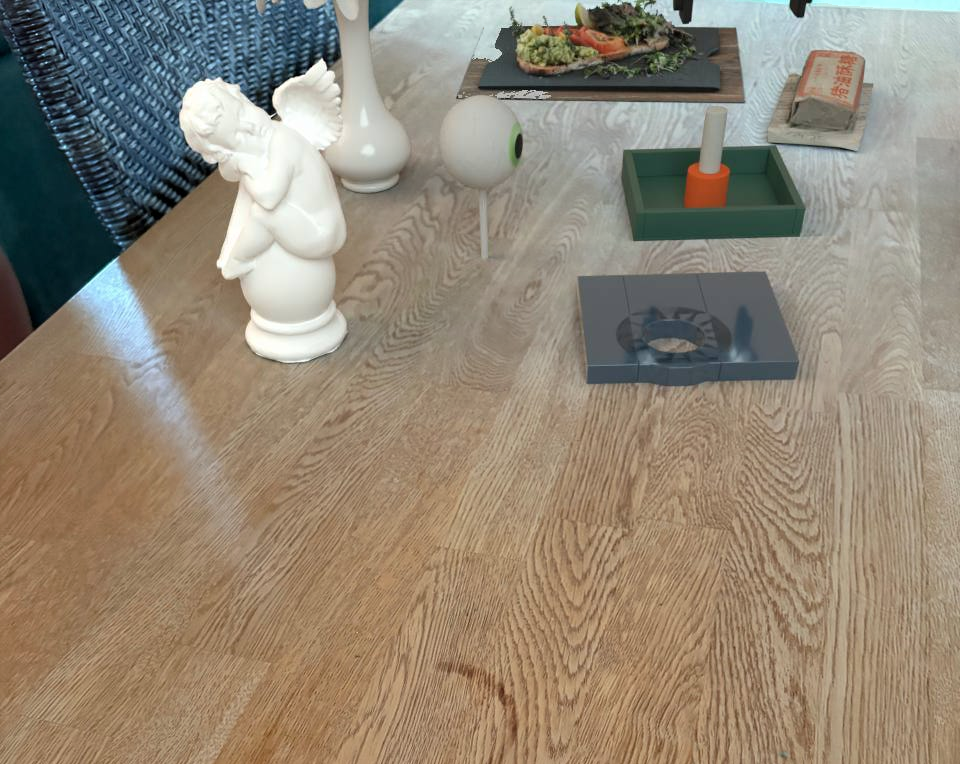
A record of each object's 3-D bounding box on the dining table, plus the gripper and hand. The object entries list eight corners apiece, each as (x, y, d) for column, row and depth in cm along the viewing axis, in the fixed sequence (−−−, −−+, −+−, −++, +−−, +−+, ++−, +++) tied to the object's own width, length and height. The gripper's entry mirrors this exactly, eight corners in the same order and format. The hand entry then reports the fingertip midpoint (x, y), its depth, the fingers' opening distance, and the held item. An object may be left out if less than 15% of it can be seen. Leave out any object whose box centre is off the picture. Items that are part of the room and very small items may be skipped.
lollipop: (508, 295, 91) (506, 117, 80) (435, 284, 93) (422, 109, 82) (533, 259, 96) (534, 86, 85) (462, 249, 97) (454, 78, 86)
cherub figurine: (217, 355, 86) (147, 70, 70) (275, 284, 94) (224, 14, 78) (352, 373, 83) (312, 81, 67) (400, 298, 91) (374, 22, 75)
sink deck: (759, 303, 89) (765, 271, 87) (793, 398, 79) (801, 364, 77) (575, 307, 89) (577, 275, 87) (586, 403, 79) (588, 369, 77)
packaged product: (794, 42, 120) (882, 49, 117) (786, 87, 123) (871, 94, 121) (772, 97, 108) (870, 106, 106) (764, 144, 112) (858, 154, 109)
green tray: (770, 174, 106) (776, 144, 104) (799, 239, 97) (805, 208, 94) (621, 178, 107) (623, 149, 105) (634, 243, 97) (636, 212, 95)
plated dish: (455, 100, 123) (452, 32, 118) (481, 29, 143) (480, -32, 137) (748, 106, 120) (760, 37, 115) (734, 32, 140) (743, -30, 134)
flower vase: (287, 159, 113) (242, -117, 95) (453, 156, 112) (439, -123, 94) (267, 211, 104) (212, -81, 86) (446, 208, 103) (430, -88, 85)
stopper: (722, 196, 102) (735, 101, 96) (727, 214, 99) (741, 117, 93) (682, 197, 102) (692, 101, 96) (685, 215, 100) (697, 118, 93)
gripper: (875, -256, 79) (831, -2, 91) (649, -241, 79) (636, 9, 92) (901, -243, 73) (851, 24, 86) (660, -228, 74) (644, 35, 87)
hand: (740, 16), depth 89 cm, fingers open, 9 cm apart
